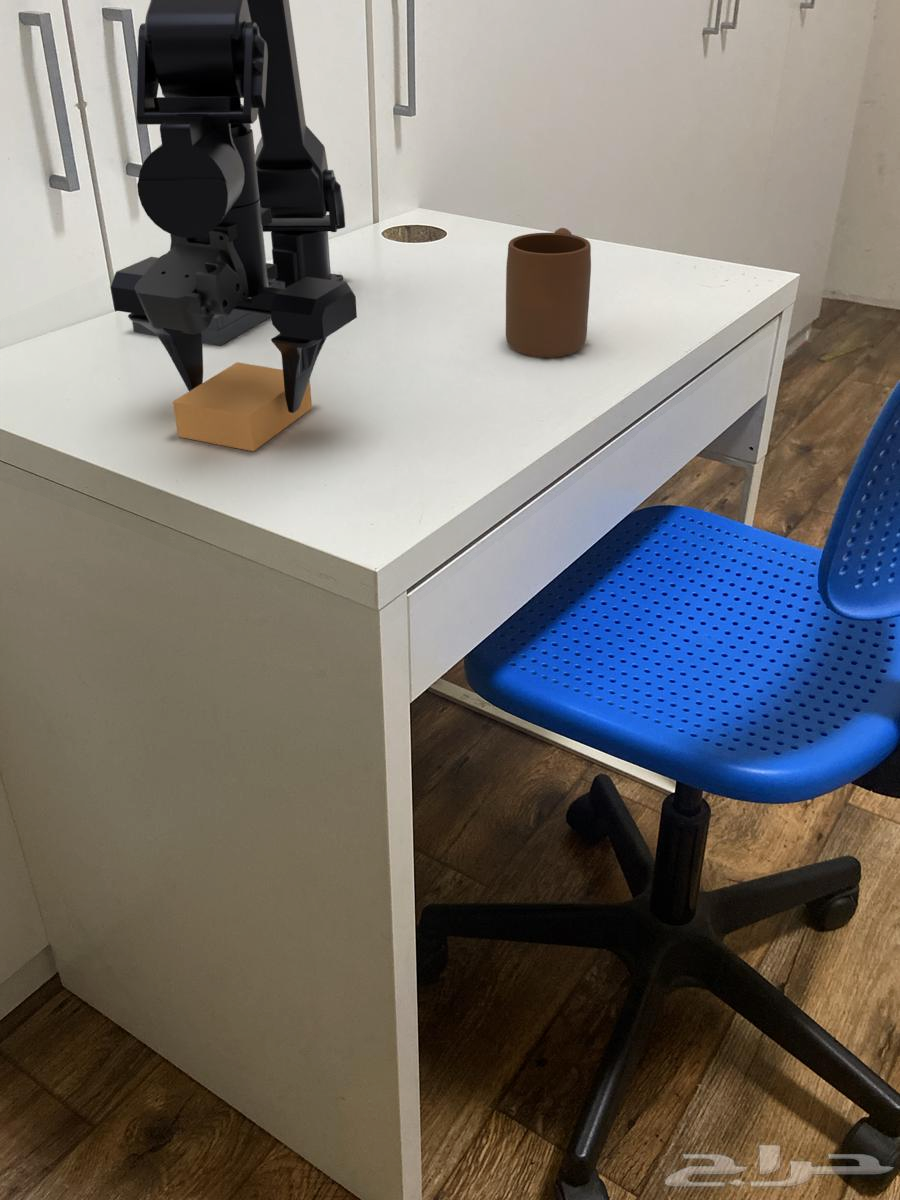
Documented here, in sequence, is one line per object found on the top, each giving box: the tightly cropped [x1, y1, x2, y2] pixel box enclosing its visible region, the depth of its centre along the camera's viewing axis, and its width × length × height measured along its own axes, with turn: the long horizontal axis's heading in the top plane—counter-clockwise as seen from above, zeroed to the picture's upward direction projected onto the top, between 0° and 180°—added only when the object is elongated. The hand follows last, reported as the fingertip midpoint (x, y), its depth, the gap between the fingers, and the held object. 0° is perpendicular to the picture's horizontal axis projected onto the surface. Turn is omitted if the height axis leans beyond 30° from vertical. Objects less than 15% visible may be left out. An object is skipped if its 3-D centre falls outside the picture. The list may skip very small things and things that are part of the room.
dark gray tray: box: [131, 280, 285, 347], centre depth 109 cm, size 12×10×3 cm
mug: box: [505, 227, 592, 358], centre depth 102 cm, size 12×8×9 cm, turn 164°
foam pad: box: [172, 362, 313, 452], centre depth 88 cm, size 9×7×3 cm
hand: (244, 402), depth 88 cm, fingers open, 9 cm apart
